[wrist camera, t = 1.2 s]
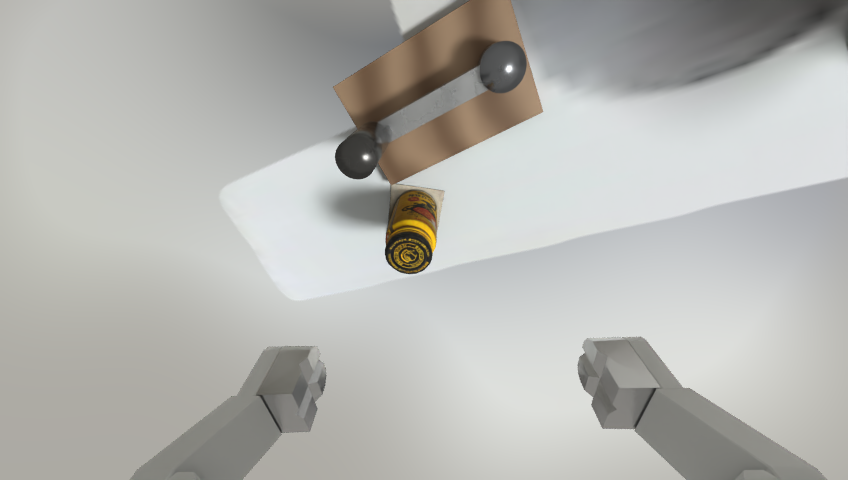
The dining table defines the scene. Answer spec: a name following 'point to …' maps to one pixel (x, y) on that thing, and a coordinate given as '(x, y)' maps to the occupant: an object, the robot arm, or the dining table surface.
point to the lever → (432, 107)
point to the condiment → (412, 227)
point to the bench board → (432, 67)
